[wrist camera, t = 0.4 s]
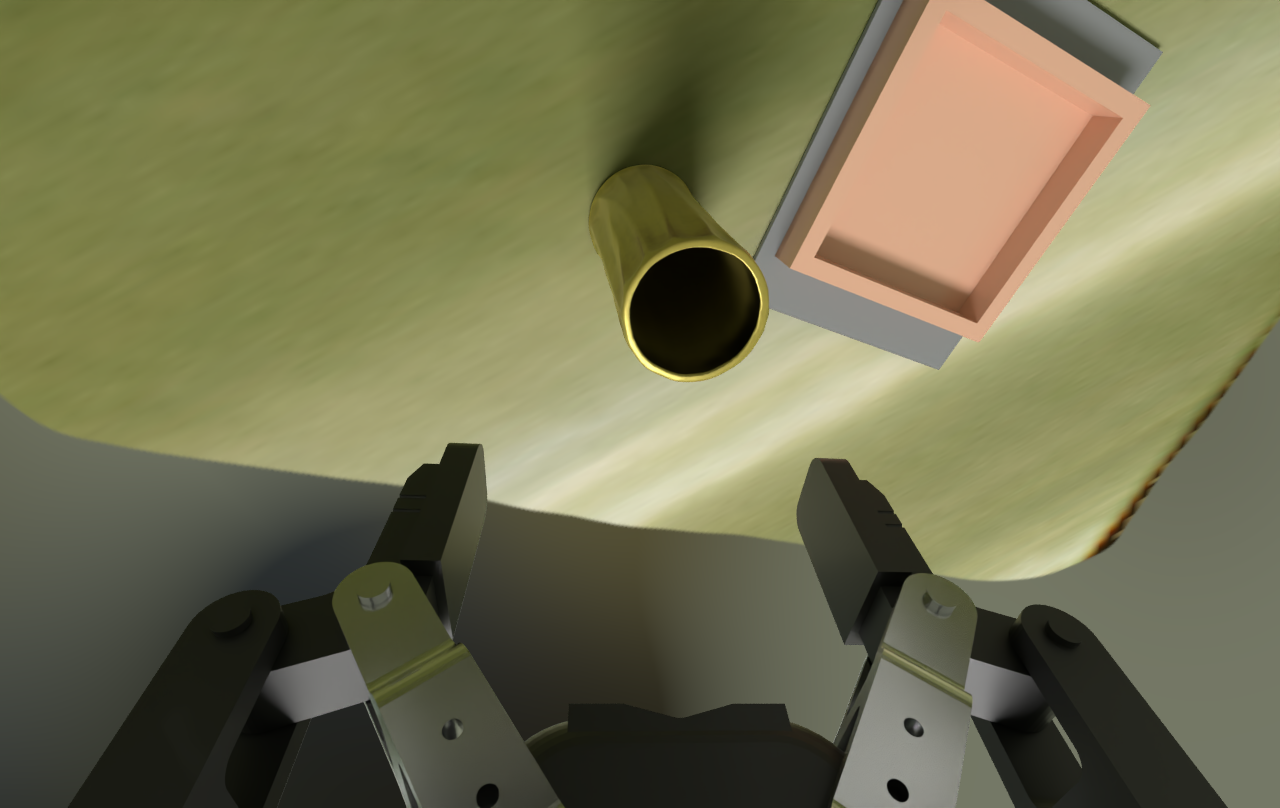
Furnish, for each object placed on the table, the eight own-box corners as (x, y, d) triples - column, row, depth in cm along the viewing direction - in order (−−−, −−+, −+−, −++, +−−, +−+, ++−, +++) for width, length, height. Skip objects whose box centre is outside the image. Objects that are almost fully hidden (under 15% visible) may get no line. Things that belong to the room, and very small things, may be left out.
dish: (912, -18, 27) (942, -26, 24) (1109, 103, 31) (1150, 105, 28) (774, 256, 33) (789, 268, 30) (954, 327, 37) (978, 342, 34)
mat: (928, -102, 25) (933, -105, 25) (1156, 52, 30) (1163, 52, 30) (735, 294, 34) (737, 296, 34) (935, 367, 39) (938, 370, 38)
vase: (622, 294, 33) (659, 420, 21) (567, 201, 30) (572, 285, 18) (713, 242, 32) (807, 342, 20) (666, 141, 29) (743, 185, 17)
